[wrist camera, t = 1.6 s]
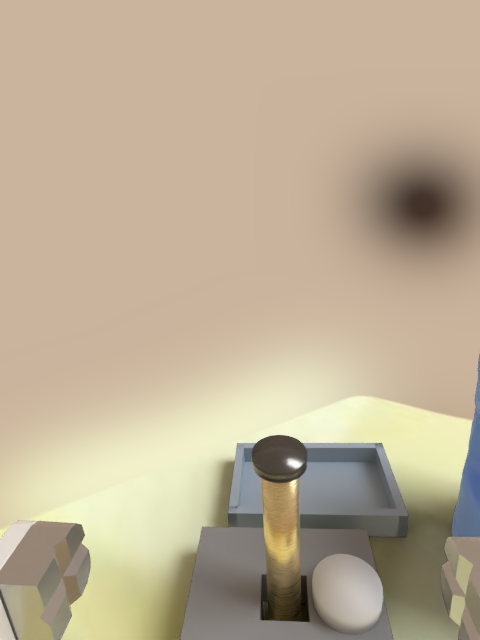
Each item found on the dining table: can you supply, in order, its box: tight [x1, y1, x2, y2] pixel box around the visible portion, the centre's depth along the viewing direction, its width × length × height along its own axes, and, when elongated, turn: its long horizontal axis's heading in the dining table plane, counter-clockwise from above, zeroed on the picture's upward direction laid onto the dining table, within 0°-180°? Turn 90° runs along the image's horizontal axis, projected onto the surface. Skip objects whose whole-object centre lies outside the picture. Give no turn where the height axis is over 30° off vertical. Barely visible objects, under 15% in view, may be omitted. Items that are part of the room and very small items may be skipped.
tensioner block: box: [180, 527, 393, 640], centre depth 31 cm, size 14×12×4 cm
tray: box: [228, 443, 409, 537], centre depth 43 cm, size 16×10×2 cm, turn 85°
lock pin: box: [251, 435, 307, 622], centre depth 29 cm, size 3×3×16 cm
